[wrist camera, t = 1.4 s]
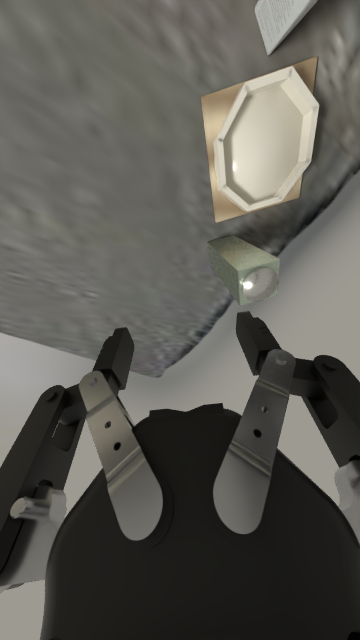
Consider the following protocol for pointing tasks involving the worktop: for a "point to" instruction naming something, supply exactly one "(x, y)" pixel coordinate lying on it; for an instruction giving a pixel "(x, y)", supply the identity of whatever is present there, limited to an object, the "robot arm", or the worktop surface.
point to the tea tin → (244, 269)
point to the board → (214, 116)
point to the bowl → (265, 140)
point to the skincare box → (279, 19)
